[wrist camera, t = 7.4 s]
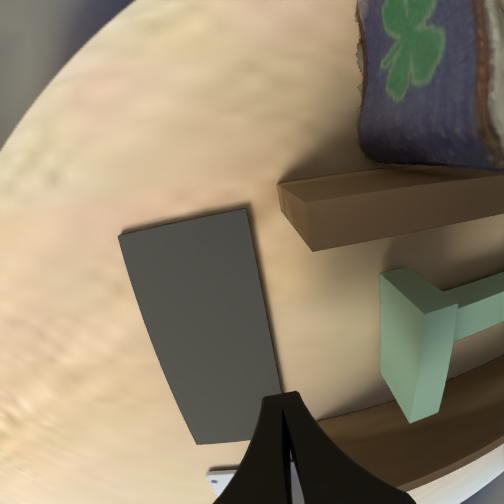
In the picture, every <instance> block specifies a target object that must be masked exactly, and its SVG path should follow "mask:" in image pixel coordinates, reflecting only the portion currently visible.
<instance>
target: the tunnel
mask: <svg viewBox="0 0 504 504" xmlns="http://www.w3.org/2000/svg"><path fill="white" fill-rule="evenodd" d="M277 189H278V195H279V201H280V206H281V211H282V212H283V214H284V215H285V216H286V218H287V219H288V220H289V222H290V223H291V224H292V225H293V227H294V228H295V229H296V231H297V232H298V233H299V235H300V236H301V237H302V239H303V240H304V241H305V243H306V244H307V245H308V247H309V248H310V249H311V251H312V252H314V251H319V250H324V249H329V248H335V247H340V246H345V245H350V244H355V243H360V242H365V241H370V240H376V239H381V238H386V237H391V236H396V235H401V234H406V233H411V232H416V231H421V230H426V229H431V228H436V227H441V226H445V225H450V224H455V223H460V222H465V221H470V220H475V219H479V218H484V217H489V216H494V215H499V214H503V213H504V172H502V173H493V172H491V171H483V170H471V169H460V168H450V167H447V166H426V165H419V164H417V165H406V166H397V167H388V168H380V169H372V170H364V171H357V172H350V173H343V174H336V175H329V176H322V177H316V178H309V179H303V180H297V181H291V182H285V183H279V184H277ZM316 422H317V423H318V425H319V426H320V427H321V428H322V430H323V431H324V432H325V433H326V434H327V435H328V437H329V438H330V439H331V440H332V441H333V442H334V443H335V444H336V445H337V446H338V447H339V448H340V449H341V450H342V451H343V452H344V453H345V454H346V455H348V456H349V457H350V458H351V459H352V460H354V461H355V462H356V463H357V464H359V465H360V466H361V467H363V468H364V469H366V470H367V471H369V472H370V473H371V474H373V475H374V476H376V477H377V478H379V479H381V480H383V481H384V482H386V483H388V484H390V485H392V486H394V487H395V488H397V489H400V490H402V491H404V492H407V491H410V490H412V489H415V488H417V487H420V486H422V485H425V484H427V483H429V482H432V481H434V480H436V479H438V478H441V477H443V476H445V475H447V474H449V473H451V472H453V471H455V470H457V469H459V468H461V467H463V466H465V465H467V464H469V463H471V462H473V461H475V460H476V459H478V458H480V457H482V456H484V455H485V454H487V453H489V452H490V451H492V450H494V449H495V448H497V447H499V446H500V445H502V444H503V443H504V355H502V356H500V357H498V358H496V359H494V360H492V361H490V362H488V363H486V364H484V365H482V366H480V367H478V368H475V369H473V370H471V371H469V372H467V373H464V374H462V375H460V376H458V377H455V378H453V379H451V380H448V381H446V382H445V387H444V391H443V395H442V399H441V403H440V407H439V411H438V413H435V414H433V415H430V416H428V417H425V418H423V419H420V420H417V421H415V422H412V423H409V422H408V420H407V418H406V416H405V414H404V413H403V411H402V409H401V407H400V406H399V404H398V402H397V400H394V401H391V402H388V403H385V404H381V405H378V406H375V407H371V408H368V409H364V410H361V411H357V412H353V413H350V414H346V415H342V416H338V417H334V418H329V419H325V420H321V421H316Z"/></svg>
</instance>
